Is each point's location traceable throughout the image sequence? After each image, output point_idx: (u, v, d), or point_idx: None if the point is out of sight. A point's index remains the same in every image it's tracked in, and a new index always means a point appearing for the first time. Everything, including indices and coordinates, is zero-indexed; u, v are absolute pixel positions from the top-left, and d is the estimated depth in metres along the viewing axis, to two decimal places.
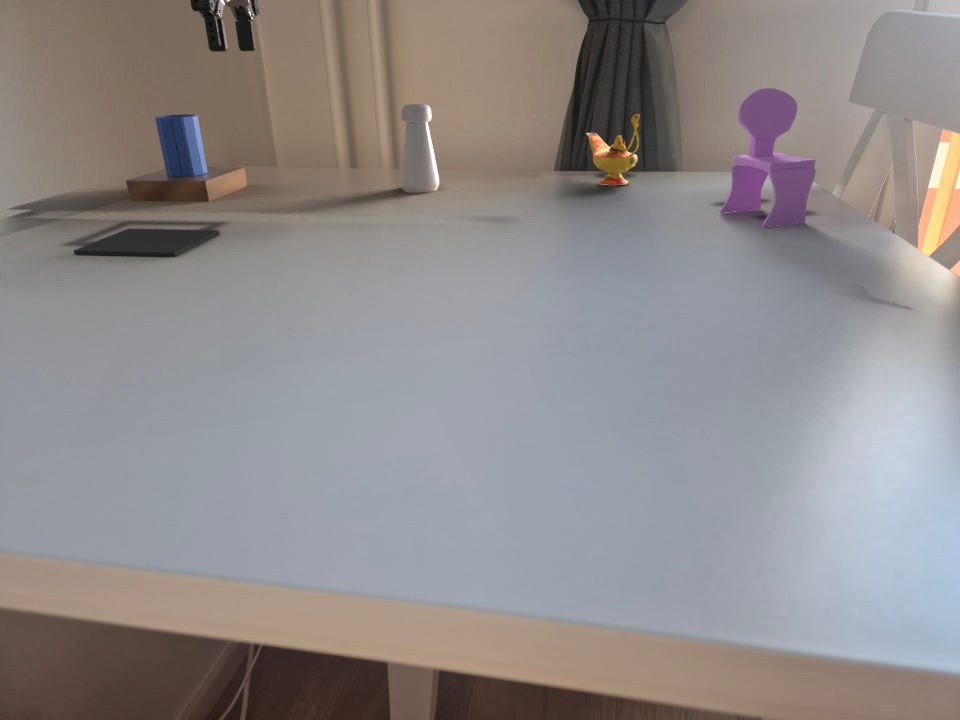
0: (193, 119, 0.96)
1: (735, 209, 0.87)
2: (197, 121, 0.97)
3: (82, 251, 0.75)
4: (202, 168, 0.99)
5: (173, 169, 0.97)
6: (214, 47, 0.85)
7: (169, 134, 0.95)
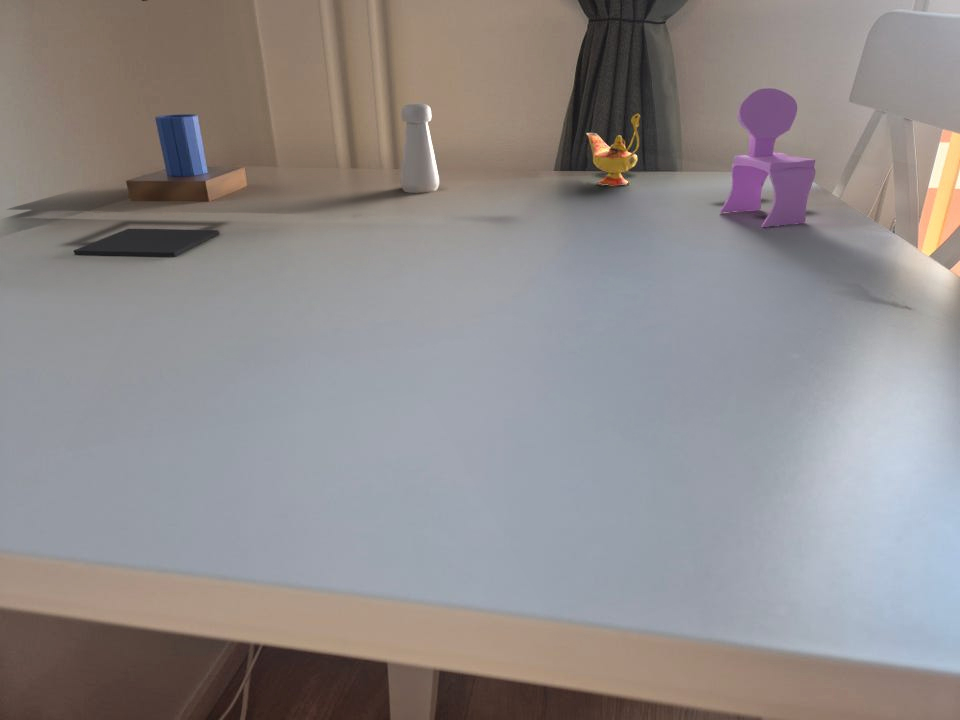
0: (193, 119, 0.96)
1: (735, 209, 0.87)
2: (197, 121, 0.97)
3: (82, 251, 0.75)
4: (202, 168, 0.99)
5: (173, 169, 0.97)
6: None
7: (169, 134, 0.95)
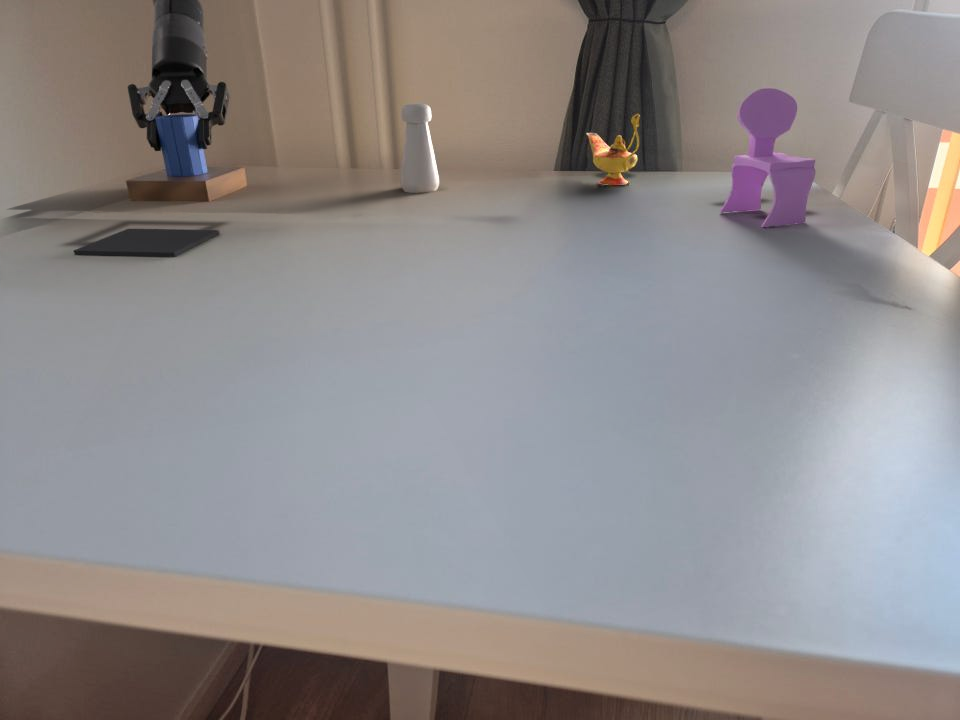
0: (193, 119, 0.96)
1: (735, 209, 0.87)
2: (197, 121, 0.97)
3: (82, 251, 0.75)
4: (202, 168, 0.99)
5: (173, 169, 0.97)
6: (204, 141, 0.97)
7: (169, 134, 0.95)
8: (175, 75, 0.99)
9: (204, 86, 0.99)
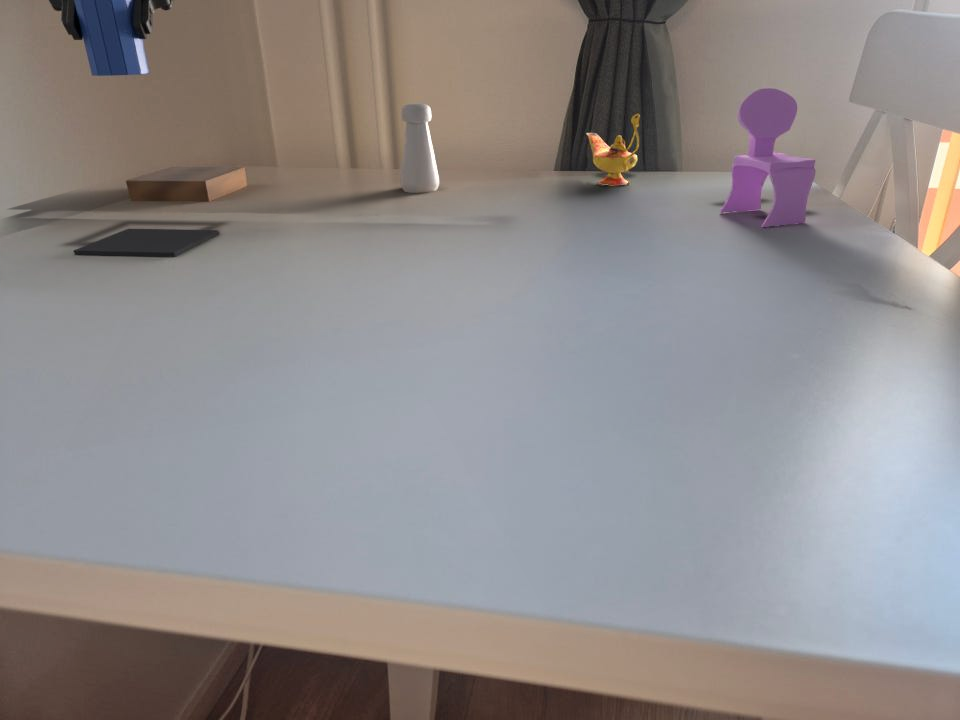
0: None
1: (735, 209, 0.87)
2: None
3: (82, 251, 0.75)
4: (140, 66, 0.73)
5: (99, 65, 0.71)
6: (142, 26, 0.71)
7: (91, 13, 0.69)
8: None
9: None
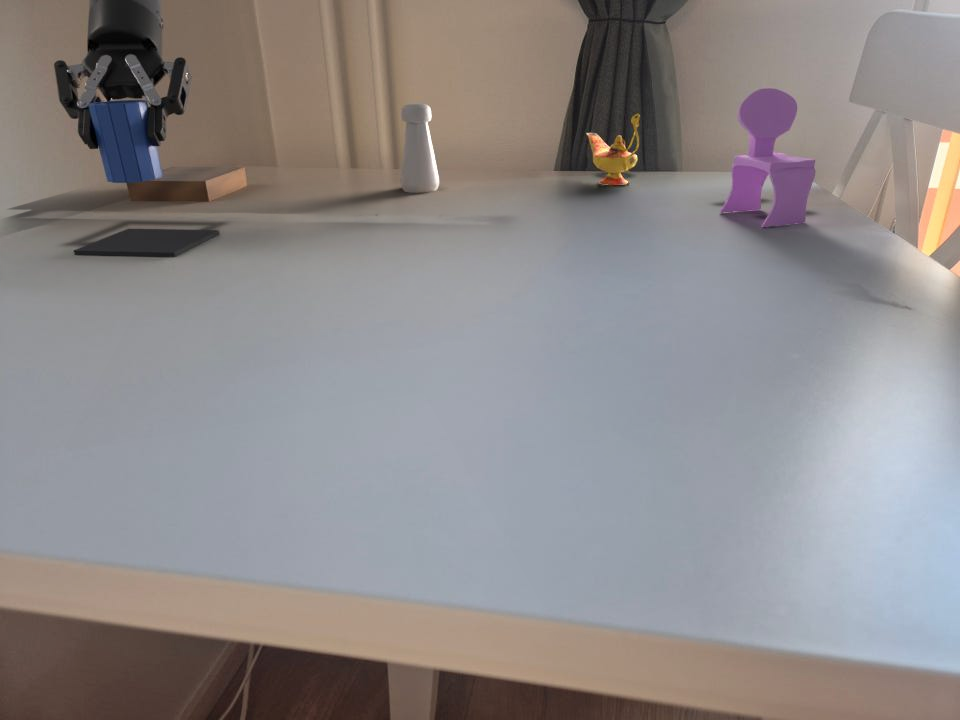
0: (140, 105, 0.72)
1: (735, 209, 0.87)
2: (146, 109, 0.73)
3: (82, 251, 0.75)
4: (154, 171, 0.74)
5: (114, 173, 0.73)
6: (156, 135, 0.73)
7: (107, 126, 0.71)
8: (118, 49, 0.75)
9: (157, 63, 0.75)
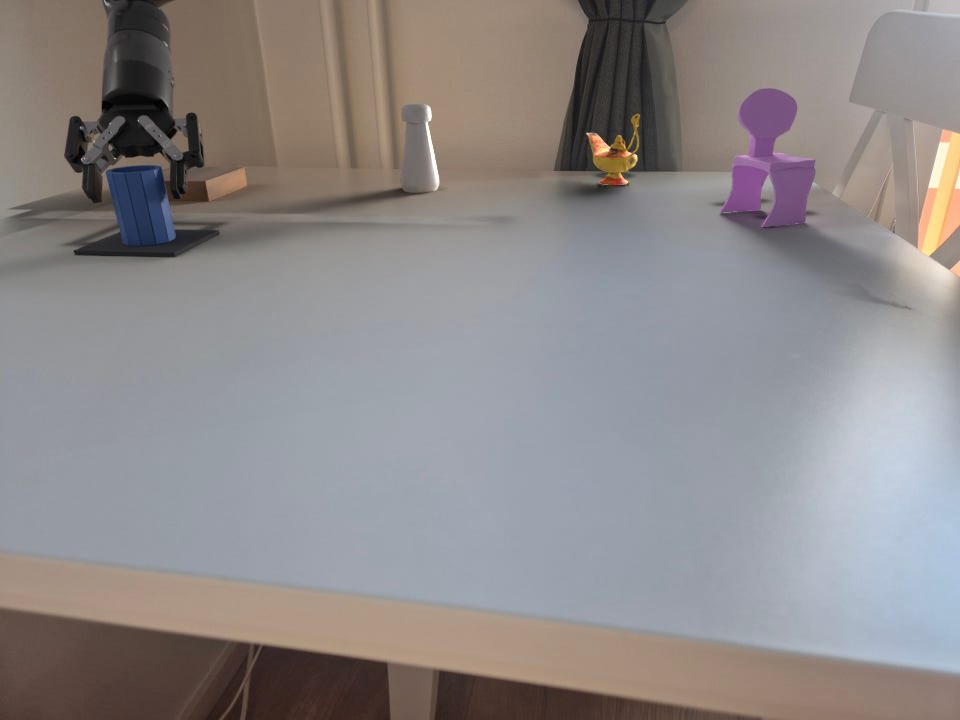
0: (155, 173, 0.75)
1: (735, 209, 0.87)
2: (160, 175, 0.76)
3: (82, 251, 0.75)
4: (168, 234, 0.77)
5: (130, 237, 0.76)
6: (178, 189, 0.76)
7: (123, 193, 0.74)
8: (131, 109, 0.78)
9: (169, 122, 0.78)
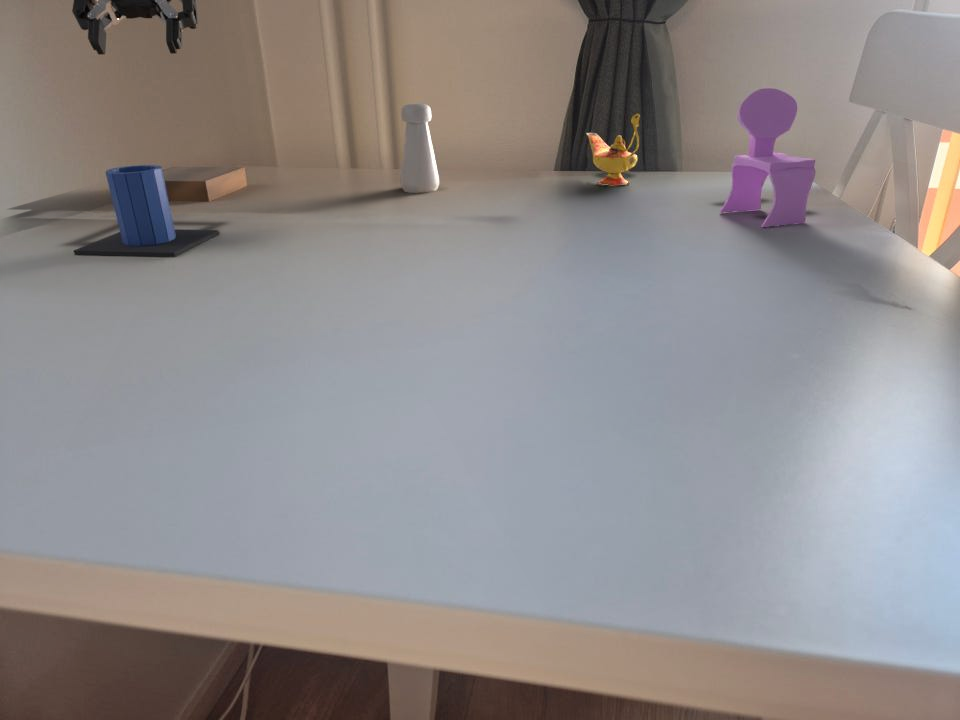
0: (155, 173, 0.75)
1: (735, 209, 0.87)
2: (160, 175, 0.76)
3: (82, 251, 0.75)
4: (168, 234, 0.77)
5: (130, 237, 0.76)
6: (173, 43, 0.85)
7: (123, 193, 0.74)
8: None
9: None
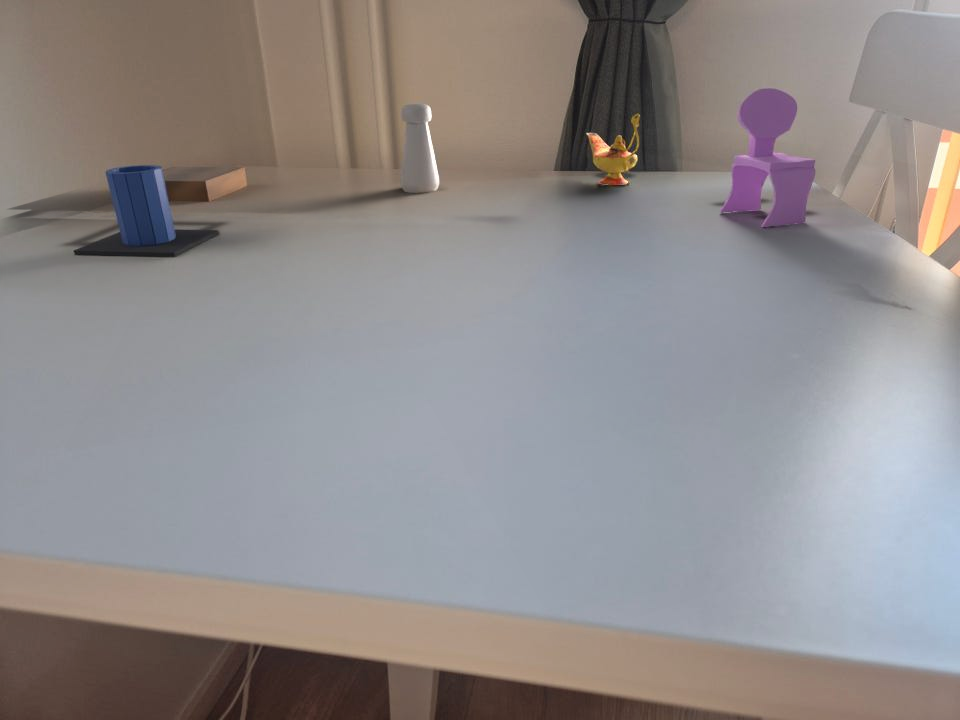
0: (155, 173, 0.75)
1: (735, 209, 0.87)
2: (160, 175, 0.76)
3: (82, 251, 0.75)
4: (168, 234, 0.77)
5: (130, 237, 0.76)
6: None
7: (123, 193, 0.74)
8: None
9: None
